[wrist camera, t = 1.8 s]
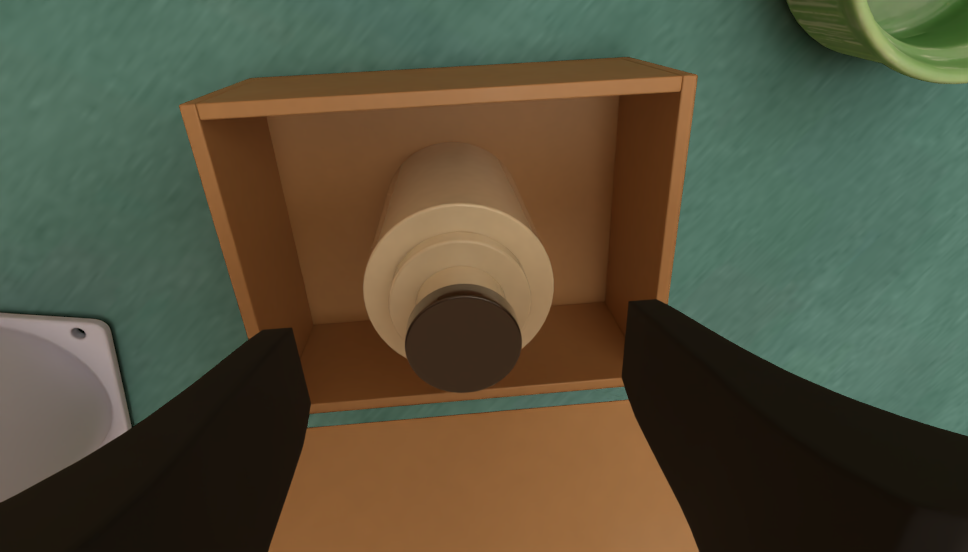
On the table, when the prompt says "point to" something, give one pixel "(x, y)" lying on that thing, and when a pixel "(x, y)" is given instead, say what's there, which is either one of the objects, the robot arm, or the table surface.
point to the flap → (484, 486)
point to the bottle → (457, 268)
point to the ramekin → (894, 33)
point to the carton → (373, 162)
